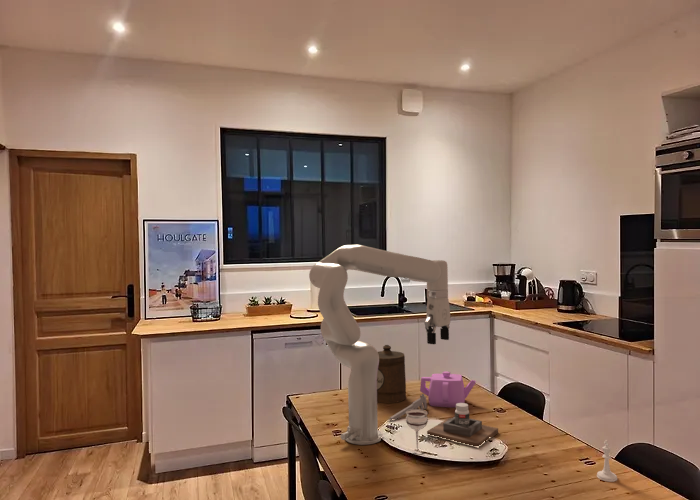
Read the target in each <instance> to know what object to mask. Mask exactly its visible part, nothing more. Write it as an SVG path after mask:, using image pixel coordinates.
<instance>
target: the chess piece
mask: <svg viewBox="0 0 700 500" xmlns="http://www.w3.org/2000/svg"><path fill="white" fill-rule="evenodd" d="M603 444H605V445H604V446H602V447H601V448H602V451H603V455H602V458H603V459H604V461H603V463H604V464H603V469H601V470H599V471H597V473H596V477H597V478H598V479H600V480H601V481H604V482H611V483H613V482H617V481H618V476H617V474H615V473H614V472H613V471H611V467H610V466H611V465H610V459H612V456H611V455H610V453H611V450H612V449H611V447H610V444H609V440H608V439H605V440H604V441H603Z"/></svg>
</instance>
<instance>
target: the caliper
mask: <svg viewBox="0 0 700 500" xmlns="http://www.w3.org/2000/svg"><path fill="white" fill-rule="evenodd" d="M427 405H428V401H427V396H426V395H425V394H424V393H421V394H420V395H419V398H417V399H416V400H414V401H413V402H412V403H411V404H410V405H408V406H407V407H405V408H403V409H402V410H400V411H398V412H396V413H394V415H391V416H389V418H388V420H392V419H396V420H397V418H398V419H399V418H402V416H404V415H407V414H406V411H408V410H411V409H421V410H427V408H428V406H427Z"/></svg>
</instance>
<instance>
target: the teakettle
mask: <svg viewBox="0 0 700 500" xmlns="http://www.w3.org/2000/svg"><path fill="white" fill-rule="evenodd" d="M426 382H429V388H428V387H426V384H427V383H426ZM476 383H477V380H474V379H471V380H470V381H469V382H468V384H467V385H466V386H465V384H464V379H463V375H462V374H458V373H457V374H456V373H451V371H447V370H446V371H442V372H441V373H432V374H431V376H421V380H420V388H419V389H420V393H421V394H424V395H425V396H426V397H428V403H429V405H430V406H431V407H438V408H439V407H441V408H456V404H457V403H465V401H466V399H467V398H468V395H469V394H470V393H471V391H472V389H473V388H474V386H475V385H476Z"/></svg>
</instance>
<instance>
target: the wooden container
mask: <svg viewBox="0 0 700 500" xmlns="http://www.w3.org/2000/svg"><path fill="white" fill-rule="evenodd" d="M382 349H383V350H382V351H379V350H378V351H377V352H378V355H379V365H378V371H377V403H381V404H382V403H383V404H392V403H393V404H394V403H395V404H396V403H399V402H402V401H405V400H406V398H407V390H406V389H407V381H406V364H405V362H406V359H405V357H406V356H405V353H404V352H400V351H396V350H395V351H394V350H391V349H392V347H391V345H389V344H384V346H382Z"/></svg>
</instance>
